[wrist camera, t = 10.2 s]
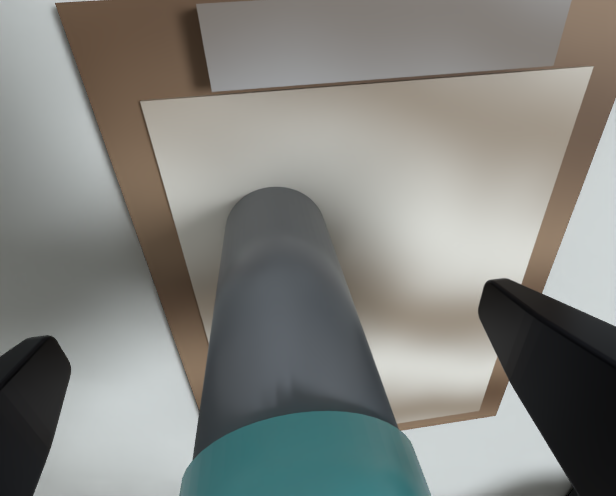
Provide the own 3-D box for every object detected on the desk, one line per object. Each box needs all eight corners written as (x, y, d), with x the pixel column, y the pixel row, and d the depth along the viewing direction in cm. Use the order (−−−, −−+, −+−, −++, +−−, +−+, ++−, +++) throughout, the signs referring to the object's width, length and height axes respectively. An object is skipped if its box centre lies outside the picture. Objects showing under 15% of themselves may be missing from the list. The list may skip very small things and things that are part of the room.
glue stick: (329, 270, 12) (463, 708, 4) (231, 281, 12) (188, 770, 4) (327, 178, 10) (543, 636, 3) (212, 188, 10) (72, 737, 2)
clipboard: (489, 405, 19) (507, 434, 17) (217, 447, 18) (214, 482, 16) (641, -28, 9) (708, -37, 8) (67, 4, 8) (29, 0, 7)
